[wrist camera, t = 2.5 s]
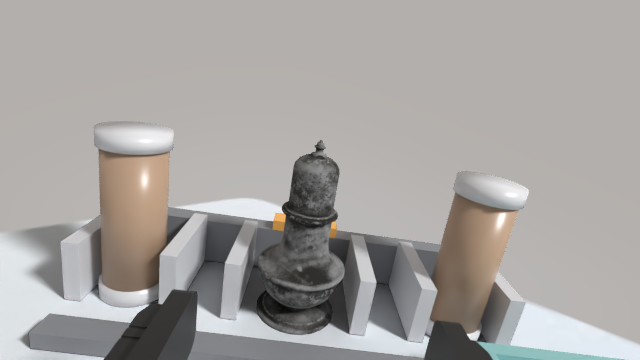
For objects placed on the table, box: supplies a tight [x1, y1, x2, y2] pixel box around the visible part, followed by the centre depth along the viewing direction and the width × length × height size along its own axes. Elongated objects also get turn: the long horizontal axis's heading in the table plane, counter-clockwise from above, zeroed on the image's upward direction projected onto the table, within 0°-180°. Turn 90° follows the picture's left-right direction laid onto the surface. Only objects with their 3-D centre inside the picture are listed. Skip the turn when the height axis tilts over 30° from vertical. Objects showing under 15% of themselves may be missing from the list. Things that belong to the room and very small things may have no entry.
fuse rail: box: [29, 207, 526, 360], centre depth 24 cm, size 29×12×4 cm, turn 91°
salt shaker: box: [257, 140, 345, 335], centre depth 23 cm, size 6×6×12 cm
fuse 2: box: [425, 172, 529, 341], centre depth 24 cm, size 4×4×11 cm
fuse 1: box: [94, 121, 174, 307], centre depth 23 cm, size 4×4×11 cm
